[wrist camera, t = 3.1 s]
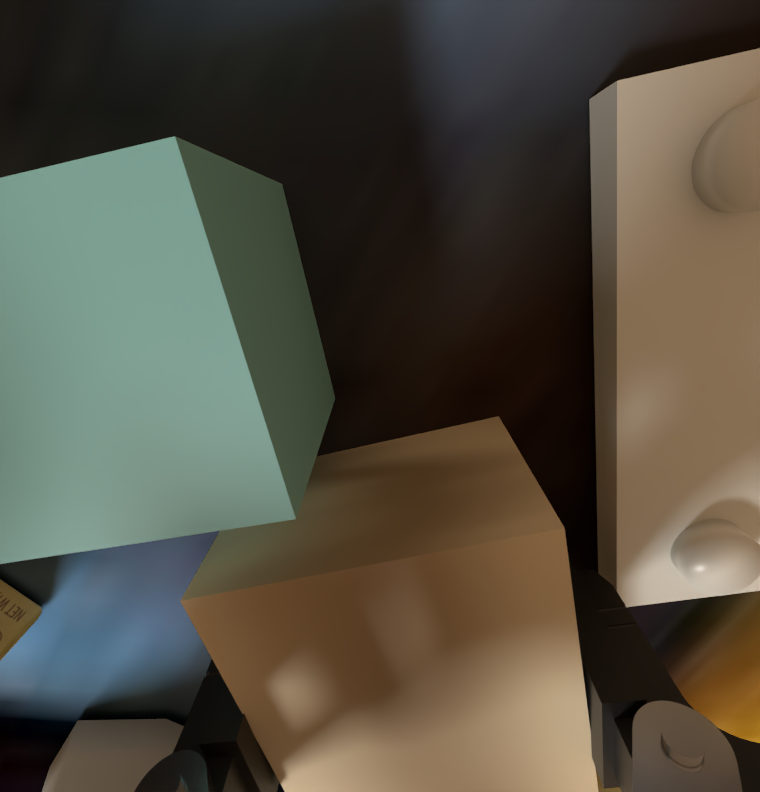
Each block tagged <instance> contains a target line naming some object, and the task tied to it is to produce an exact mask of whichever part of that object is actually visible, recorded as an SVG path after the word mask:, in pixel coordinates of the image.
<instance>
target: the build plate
mask: <svg viewBox="0 0 760 792" xmlns="http://www.w3.org/2000/svg"><path fill="white" fill-rule="evenodd" d="M589 107H590V161H591V215H592V269H593V323H594V377H595V431H596V485H597V540H598V574H600V575H601V576H602V577H603V578H605V579H606V580H607V581H608V582H610V583H611V584H612V585H613V586H614V588H615V589H616V591H617V593H618V594H619V596H620V597H621V599H622V601H623V602H624V604H625V606H626V607H631V606H639V605H647V604H655V603H664V602H672V601H680V600H688V599H696V598H704V597H712V596H721V595H728V594H736V593H744V592H753V591H760V48H758V49H754V50H750V51H745V52H741V53H736V54H732V55H728V56H723V57H719V58H714V59H710V60H706V61H701V62H697V63H693V64H688V65H684V66H679V67H675V68H671V69H666V70H662V71H657V72H653V73H649V74H644V75H640V76H636V77H631V78H627V79H622V80H618V81H616V82H614V83H613V84H611V85H610V86H608V87H607V88H605V89H604V90H602V91H601V92H599V93H598V94H596V95H595V96H593V97H592V98H590V99H589Z"/></svg>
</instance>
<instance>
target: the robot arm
mask: <svg viewBox="0 0 760 792" xmlns="http://www.w3.org/2000/svg"><path fill="white" fill-rule="evenodd" d="M568 558H569V556H568ZM569 566H570V574H571V582H572V589H573V597H574V605H575V613H576V621H577V629H578V636H579V644H580V652H581V660H582V668H583V676H584V683H585V691H586V699H587V707H588V715H589V723H590V730H591V750H592V759H593V762H594V764H595V767H596V769H597V772H598V775H599V777H600V780H601V783H602V785H603V788H614V787H620V789H621V791H622V792H760V743H756V742H751V741H748V740H744V739H741V738H738V737H736V736H733V735H731V734H729V733H727V732H725V731H723V730H721V729H719V728H717V727H716V726H715V725H714V724H713V723H712V722H711V721H709V720H708V719H707V718H706V717H704V716H703V715H702V714H700V713H698V712H697V711H695V710H694V709H693V708H692V707H691V706H690V705H689V704H688V702H687V701H686V700H685V699H684V697H683V696H682V694H681V693H680V691H679V690H678V688H677V686H676V685H675V683H674V682H673V680H672V678H671V677H670V675H669V674H668V672H667V671H666V669H665V667H664V666H663V664H662V663H661V661H660V659H659V658H658V656H657V655H656V653H655V651H654V650H653V648H652V647H651V645H650V643H649V642H648V640H647V639H646V637H645V636H644V634H643V632H642V631H641V629H640V628H639V627H638V626H637V624H636V621H635V620H634V618H633V616H632V615H631V613H630V612H629V610H628V609H626V606H625V604H624V602H623V601H622V599H621V597H620V596H619V594H618V593H617V591H616V589H615V588H614V586H613V585H612V584H611V583H610V582H608V581H607V580H606V579H605V578H603V577H602V576H601V575H600V574H598V573H597V572H596V571H595V570H593V569H590V570H583V571H576V569H575V567H574V565H573V564H572V562H571V560H570V558H569ZM206 673H207V675H206V677H204V680H203V682H202V684H201V687H200V689H199V691H198V694H197V696H196V699H195V701H194V703H193V706H192V708H191V711H190V713H189V715H188V718H187V720H186V723H185V725H184V727H183V730H182V732H181V734H180V737H179V739H178V742H177V744H176V746H175V748H174V750H173V753H172V754H170V755H168V756H167V757H165V758H164V759H162V760H161V761H159V762H158V763H157V764H156V765H155V766H154V767H153V768H152V769H150V770H149V771H148V773H147V774H146V775H145V776H144V777H143V779H142V780H141V781H140V783H139V784H138V786H137V788H136V789H135V791H134V792H277V789H278V784H279V780H278V778H277V776H276V774H275V773H274V771H273V769H272V767H271V765H270V764H269V762H268V760H267V758H266V756H265V754H264V753H263V751H262V749H261V747H260V745H259V743H258V742H257V740H256V738H255V736H254V734H253V732H252V730H251V727H250V725H249V723H248V721H247V719H246V717H245V714H242V712H241V711H240V709H239V707H238V705H237V703H236V701H235V700H234V698H233V696H232V694H231V692H230V691H229V689H228V687H227V685H226V683H225V681H224V680H223V678H222V676H221V674H220V672H219V670H218V669H217V667H216V665H215V663H214V661H213V660H211V663H210V665H209V668H208V670H207V672H206Z"/></svg>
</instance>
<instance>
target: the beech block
mask: <svg viewBox="0 0 760 792" xmlns="http://www.w3.org/2000/svg"><path fill="white" fill-rule="evenodd" d="M181 603H182V605H183V607H184V608H185V610H186V612H187V614H188V616H189V618H190V619H191V621H192V623H193V625H194V627H195V628H196V630H197V632H198V634H199V636H200V638H201V639H202V641H203V643H204V645H205V647H206V649H207V650H208V652H209V654H210V656H211V658H212V660H213V661H214V663H215V665H216V667H217V669H218V670H219V672H220V674H221V676H222V678H223V680H224V681H225V683H226V685H227V687H228V689H229V691H230V692H231V694H232V696H233V698H234V700H235V701H236V703H237V705H238V707H239V709H240V711H241V712H242V714H245V717H246V719H247V721H248V723H249V725H250V727H251V730H252V732H253V734H254V736H255V738H256V740H257V742H258V743H259V745H260V747H261V749H262V751H263V753H264V754H265V756H266V758H267V760H268V762H269V764H270V765H271V767H272V769H273V771H274V773H275V774H276V776H277V778H278V780H279V782H280V784H281V785H282V787H283V789H284V791H285V792H598V785H597V777H596V769H595V764H594V762H593V759H592V750H591V730H590V723H589V715H588V707H587V699H586V691H585V683H584V676H583V668H582V660H581V652H580V644H579V636H578V629H577V621H576V613H575V605H574V597H573V589H572V582H571V574H570V566H569V558H568V550H567V542H566V535H565V528H564V526H563V525H562V523H561V521H560V519H559V518H558V516H557V514H556V513H555V511H554V509H553V508H552V506H551V504H550V502H549V501H548V499H547V497H546V496H545V494H544V492H543V491H542V489H541V487H540V485H539V484H538V482H537V480H536V479H535V477H534V475H533V474H532V472H531V470H530V469H529V467H528V465H527V463H526V462H525V460H524V458H523V457H522V455H521V453H520V452H519V450H518V448H517V446H516V445H515V443H514V441H513V440H512V438H511V436H510V435H509V433H508V431H507V430H506V428H505V426H504V424H503V423H502V421H501V419H500V418H499V416H497V417H493V418H488V419H484V420H479V421H475V422H470V423H466V424H461V425H457V426H452V427H447V428H443V429H438V430H434V431H429V432H425V433H420V434H416V435H411V436H407V437H402V438H398V439H393V440H389V441H384V442H379V443H375V444H370V445H366V446H361V447H357V448H352V449H348V450H343V451H339V452H334V453H330V454H325V455H321V456H316V459H315V462H314V465H313V468H312V472H311V475H310V478H309V481H308V484H307V487H306V490H305V493H304V496H303V499H302V502H301V505H300V508H299V511H298V515H297V518H296V519H294V520H288V521H281V522H274V523H268V524H261V525H255V526H248V527H241V528H235V529H228V530H222V531H220V532H219V534H218V535H217V537H216V539H215V541H214V542H213V544H212V546H211V548H210V550H209V551H208V553H207V555H206V557H205V558H204V560H203V562H202V564H201V565H200V567H199V569H198V571H197V572H196V574H195V576H194V578H193V579H192V581H191V583H190V585H189V587H188V588H187V590H186V592H185V594H184V595H183V597H182V599H181Z"/></svg>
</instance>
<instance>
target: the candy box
mask: <svg viewBox="0 0 760 792" xmlns="http://www.w3.org/2000/svg"><path fill="white" fill-rule="evenodd" d="M41 613H42V608H41V607H40V606H39V605H37V604H36V603H34V602H33V601H31V600H30V599H28V598H27V597H25V596H24V595H22V594H21V593H20V592H18V591H17V590H15V589H14V588H12V587H11V586H9V585H8V584H6V583H5V582H3V581H2V580H1V579H0V660H1V659H2V658H3V657H4V656H5V655H6V654H7V653H8V651H9V650H10V649H11V648H12V647H13V646H14V645H15V644H16V643H17V642H18V640H19V639H20V638H21V637H22V636H23V635H24V634H25V633H26V631H27V630H28V629H29V628H30V627H31V626H32V625H33V624H34V623H35V621H36V620H37V619H38V618H39V616H40V615H41Z"/></svg>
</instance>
